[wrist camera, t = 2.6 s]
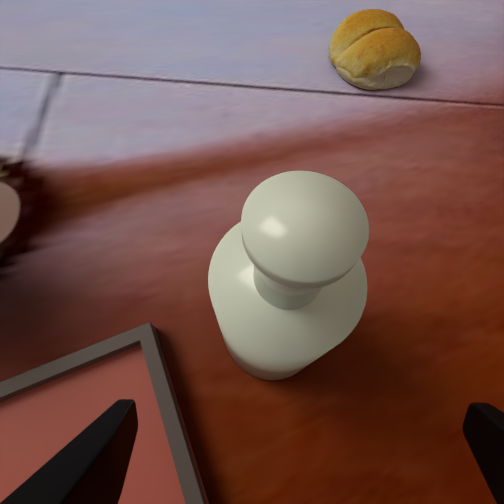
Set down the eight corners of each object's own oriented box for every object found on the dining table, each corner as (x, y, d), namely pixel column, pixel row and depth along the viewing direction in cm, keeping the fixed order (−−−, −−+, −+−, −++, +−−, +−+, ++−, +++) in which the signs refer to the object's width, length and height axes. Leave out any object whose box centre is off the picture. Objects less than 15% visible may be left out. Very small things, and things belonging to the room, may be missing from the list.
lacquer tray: (220, 541, 16) (218, 553, 15) (-30, 680, 14) (-60, 709, 13) (155, 327, 21) (149, 322, 19) (-41, 407, 19) (-64, 407, 17)
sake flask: (324, 299, 22) (424, 161, 10) (307, 392, 19) (412, 367, 7) (239, 276, 22) (230, 120, 10) (211, 364, 20) (155, 295, 8)
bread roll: (385, 32, 35) (401, -11, 32) (423, 86, 32) (446, 44, 28) (313, 42, 34) (322, -1, 31) (344, 99, 31) (357, 57, 27)
